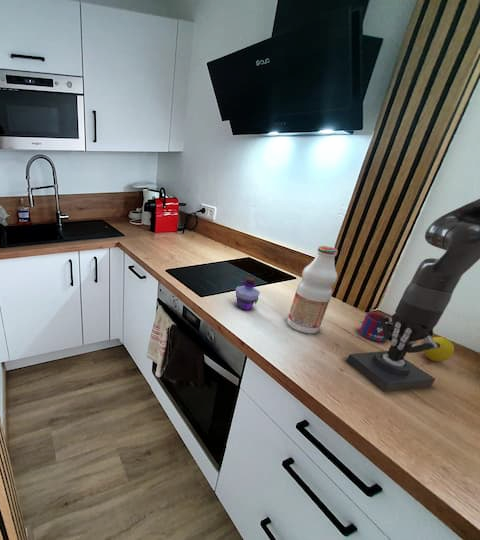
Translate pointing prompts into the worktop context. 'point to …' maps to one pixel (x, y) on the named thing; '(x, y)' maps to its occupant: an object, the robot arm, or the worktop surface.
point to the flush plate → (389, 372)
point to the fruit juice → (314, 292)
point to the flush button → (394, 363)
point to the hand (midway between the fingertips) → (393, 358)
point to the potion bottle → (247, 294)
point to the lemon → (441, 350)
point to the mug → (372, 327)
